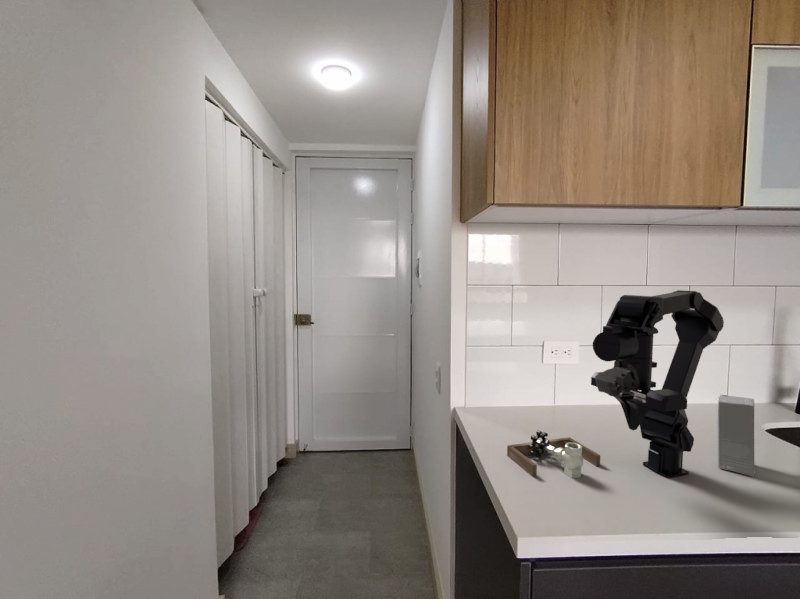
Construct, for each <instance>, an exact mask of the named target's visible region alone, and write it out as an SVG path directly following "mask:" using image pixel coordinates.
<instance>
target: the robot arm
mask: <svg viewBox="0 0 800 599" xmlns="http://www.w3.org/2000/svg"><path fill="white" fill-rule="evenodd" d="M669 314H671V318H672V319H673V321H674V323H675V326H674V330H675V332H676V335H677V338H678V343H677V345H676V348H675V352H674V353H673V356H672V359H671V362H670V365H669V368H668V370H667V373H666V376H665V380H664V382H663V384H662V388H661V389H655V390H654V389H652V388H656V387H657V382H655V381H653V380H652V376H653V375H652V373H653V369H654V368H656V369H657V367H658V362H656V361H653V351H654V350H653V349H654V335H656V334H658V333H659V330H658V328H656V327H655V325H656V324H657V323H659V322H661V321H662V320H663V319H664V316H665V315H669ZM724 323H725V322H724V318H723V316H722V313H721V312H720V310H719V308H718V307H717V306H716V305H714V304H713V303H711V302H710V301H708V300H707V299H704V296H703V295H702V293H701V292H698V291H696V290H682V289H681V290H680V289H678V290H676V291H673V292H667V293H662V294H656V295H651V296H650V295H649V296H648V295H633V294H632V295H631V294H624V295H621V296H620V297H619V300H617V302H616V304H615V306H614V307H613V310H612V312H611V314H610V316H609V317H608V320H607V322H606V325H604V326H602V332H599V333H598V334H596V336H595V337H594V338H593V342H592V348H593V352H594V354H595V355H596V356H597V357H598V358H599V359H600V360H601V361H604V362H613V363H614V364H613V367H611V368H608V369H606V370H604V371H598V372H594V373H593V374H592V375H591V377H590V383H591V384H590V385H591V386H593V387H597V390H598V392H600V393H604V394H607V395H608V396H610V397H613V398H614V399H616V400H617V401H618V403H619V404H620V406H621V408H622V411H623V414H624V417H625V420H626V423H627V427H628V428H629V430H631V431H636V430H637V429H638V427H639V428H640V433H641V439H644V440H647V441H649V447H648V449H647V450H648V451H647V453H648V454H647V461H642V465H643V466H645V467H646V468H647V469H650V470H652V471H654V472H656V473H658V474H660V475H661V476H662V477H665V478H674V477H679V476H683V475H689V474H690V473H689V472H690V471H689V470H687V469H685V468H683V461H684V459H683V458H684V452H688V453H689V452H690V453H691V452H692V448H693V447H694V441H695V438H694V436H693V435H692V432H690V430H689V428H688V423H689V419H688V415H687V413H686V410H687V407H688V398H687V397H688V394H689V392H690V389H691V386H692V383H693V380H694V377H695V374H696V371H697V369H698V366H699V362H700V361H701V357H702V355H703V352H704V349H706V348H707V347H708V346H710V345H711V344H713V343H714V342H716V340H717V338H718V336H719V333H720V332H721V331H722V330H723V328H724V325H725V324H724Z"/></svg>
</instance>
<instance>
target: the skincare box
mask: <svg viewBox="0 0 800 599" xmlns="http://www.w3.org/2000/svg"><path fill="white" fill-rule="evenodd" d="M717 401H718V403H717V423H716V424H717V459H718V460H717V466H718V468H719V469H722V470H726V471H729V472H734V473H737V474H738V473H739V474H741V475H746V476H750V477H752V478H753V477H755V473H756V472H755V471H756V470H755V398H751V397H743V396H735V395H727V394H726V395H725V394H719V396H718V400H717Z"/></svg>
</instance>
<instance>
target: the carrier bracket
mask: <svg viewBox="0 0 800 599" xmlns="http://www.w3.org/2000/svg"><path fill="white" fill-rule="evenodd" d="M548 440H549V441H550V443H549V444H548V445H549V446H553V447H555V448H557V449H558V448H559V447H562V448H564V449H565V445H566V443H569V442H572V443H577V444H579V445H581V446H582V457H583V460H586V461H587V462H589V463H590V464H592V465H594V466H595V467H600V466H601V455H600V454H599V453H597V452H595V451H594V450H592V449H590V448H589V447H587V446H585V445H584V444H582V443H580V442H578V441H577V440H575V439H573V438H572V437H570V436H569V437H568V436H567V437H560V438H554V439H548ZM529 444H532V441H530V442H523V443H517V444H515V443H514V444H509V445H508V444H507V449H506V450H507V451H506V452H507V453H506V456H507V457H508V458H509V459H511V460H512V461H513V462H514V463H515V464H517V465H518V466H519V467H520V468H521V469H523V470H524V471H525V472H526V473H527V474H528V475H529V476H531V477H537V475H538V474H537V472H538V466H537V464H536V463H535V462H533V460H531V459H530V458H529V457H527V456H528V455H530V452H531V451H532V450H531V449H529V448H528V445H529ZM535 449H536V451H537V450H539V448H538V447H536V444H535ZM526 455H527V456H526Z"/></svg>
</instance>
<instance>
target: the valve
mask: <svg viewBox="0 0 800 599" xmlns="http://www.w3.org/2000/svg"><path fill="white" fill-rule="evenodd" d="M535 434H536V435H531V436H530V440H532V441H531V442H532V444H529V445H528V448H529V449H531V450H532V451H531V452H530V454H529V455H530V456H531V457H537V458H538V459H541V458H542V455H544V454H546V453H549V454H551V455H553V456H554V458H555V460H557V461H559V462H563V465H564V466H563V469H564V471H563V472H564V473H563V474H564V475H566V476H568V477H570V478H571V479H572V478H573V479H574V478H575V479H579V478H581V477H582V469H583V468H582V467H583V466H584V458H583V457H582V446H581V445H579V444H577V443H572V442H569V443H566V445H565V449H564V448H562V447H559V448H558V449H557V448H555V447H553V446H549V445H548V444H549V443H550V441H549V440H550V439H548V436H549V435H548V433H547V432H545V431H541V430H537V431H536V432H535ZM539 439H541V440H539ZM535 444H536V447H538V448H539V450H537V451H536V449H535Z"/></svg>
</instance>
